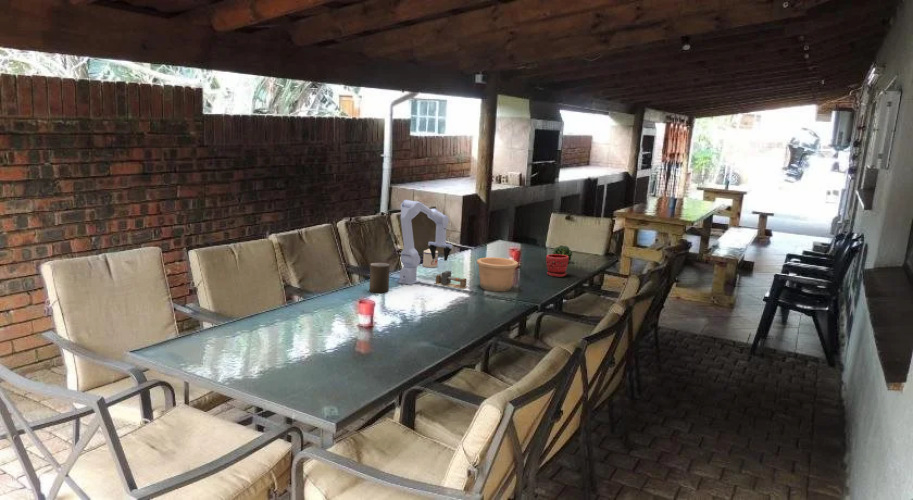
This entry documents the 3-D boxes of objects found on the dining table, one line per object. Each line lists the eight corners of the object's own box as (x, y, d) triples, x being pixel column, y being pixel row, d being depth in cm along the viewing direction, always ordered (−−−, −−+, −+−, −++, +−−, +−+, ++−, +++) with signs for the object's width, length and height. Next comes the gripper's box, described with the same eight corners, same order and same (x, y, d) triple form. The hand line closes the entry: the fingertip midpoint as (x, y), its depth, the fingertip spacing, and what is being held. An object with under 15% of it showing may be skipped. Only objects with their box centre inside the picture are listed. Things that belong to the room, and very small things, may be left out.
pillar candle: (385, 294, 325) (386, 264, 322) (366, 292, 327) (367, 262, 324) (391, 289, 334) (392, 261, 332) (372, 287, 336) (374, 259, 334)
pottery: (468, 288, 347) (470, 261, 344) (486, 280, 366) (487, 255, 363) (506, 294, 337) (507, 267, 334) (522, 286, 356) (524, 261, 354)
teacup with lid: (432, 268, 390) (433, 249, 388) (419, 266, 394) (420, 247, 392) (442, 265, 401) (443, 246, 398) (430, 263, 405) (431, 244, 403)
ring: (450, 282, 354) (451, 271, 353) (445, 284, 348) (445, 273, 347) (446, 281, 355) (447, 270, 354) (441, 284, 349) (441, 272, 348)
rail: (467, 286, 349) (468, 278, 348) (462, 289, 344) (462, 280, 343) (439, 282, 357) (440, 273, 356) (434, 284, 351) (434, 275, 351)
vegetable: (550, 261, 421) (549, 247, 433) (561, 273, 426) (559, 259, 438) (566, 252, 416) (564, 238, 428) (577, 265, 421) (575, 251, 433)
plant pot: (566, 273, 396) (568, 254, 394) (567, 278, 383) (569, 258, 381) (544, 272, 397) (546, 252, 395) (545, 276, 384) (546, 256, 382)
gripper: (455, 236, 366) (454, 260, 368) (432, 233, 372) (431, 256, 374) (449, 237, 359) (448, 262, 362) (426, 234, 366) (425, 258, 368)
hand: (439, 259), depth 368 cm, fingers open, 7 cm apart
